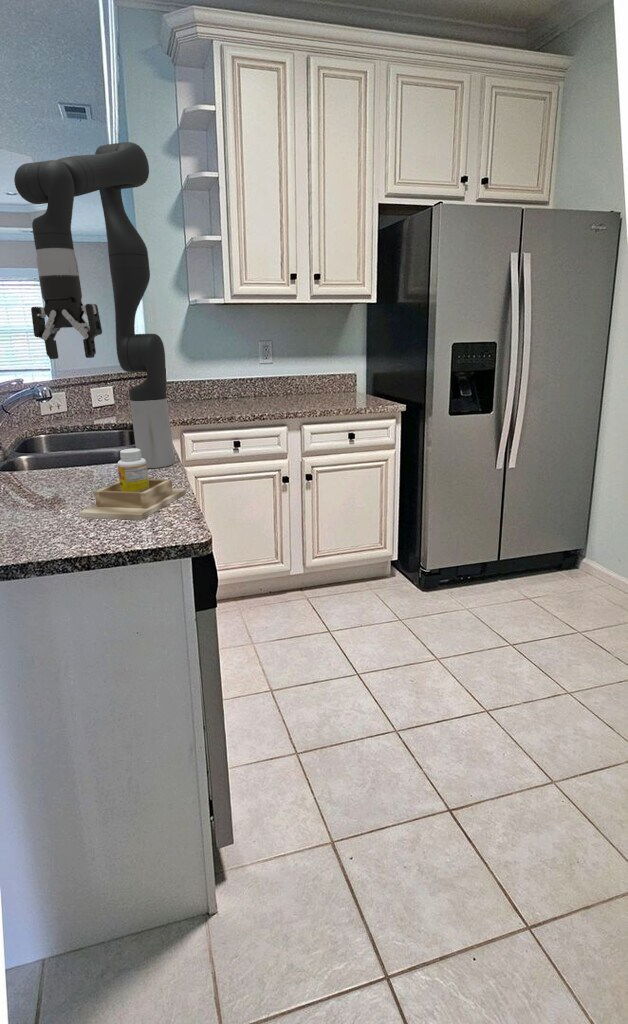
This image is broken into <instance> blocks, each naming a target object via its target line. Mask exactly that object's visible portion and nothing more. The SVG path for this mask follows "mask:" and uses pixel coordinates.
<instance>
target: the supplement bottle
mask: <svg viewBox="0 0 628 1024" xmlns="http://www.w3.org/2000/svg"><path fill="white" fill-rule="evenodd" d="M119 456H120V460H118V462H117V470H118V478H119V481H120V486H121V491H125V492H144V491H146V490H148V489H149V481H148V479H149V474H148V468H147V465H146V460H145V459H144V458H141V457H142V456H141V450H140V449H136V448H125V449H122V450H120V451H119Z"/></svg>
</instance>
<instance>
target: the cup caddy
mask: <svg viewBox="0 0 628 1024" xmlns="http://www.w3.org/2000/svg"><path fill="white" fill-rule="evenodd" d="M148 481H149V489H148V490H146V491H144V492H125V491H121V486H120V480H118V481H116V482H113V483H111V484H108V485H107V486H104V487H102V488H100V489H98V490H97V489H96V490H95V491H94V492H93V493H94V499H95V500H94V501H95V504H94V505H92V506H90V507H88V508H86V509H84V510H82V511H79V515H80V516H79V517H80V518H91V519H92V518H93V519H112V520H131V521H133V520H134V521H136V520H137V521H142V520H144V519H146V518H147V517H149V516H151V515H152V514H154V513H156V512H157V511H159V510H161V509H162V508H164V507H166V506H167V505H170V504H171V503H173V502H174V501H176V500H178V499H179V498H181V497H182V496H184V495H186V494H187V489H186V488H173V483H172V479H154V478H153V479H152V478H151V479H150V478H148Z"/></svg>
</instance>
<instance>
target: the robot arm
mask: <svg viewBox="0 0 628 1024" xmlns="http://www.w3.org/2000/svg"><path fill="white" fill-rule="evenodd" d="M149 176H150V166H149V160H148V157H147V154H146V152H145V151H144V150H143V148H142V147H141V146H140V145H139V144H137V143H136V142H131V141H122V142H117V143H109V144H103V145H99V146H98V147H97V148H96V150H95V152H94V154H80V155H73V156H66V157H61V158H58V159H54V160H53V159H52V160H42V161H35V162H27V163H23V164H21V165H20V166H19V167H17V169H16V171H15V174H14V186H15V188H16V191H17V192H18V194H19V195H20V197H21V198H22V199H24V200H25V201H26V202H28V203H30V204H32V205H33V204H34V205H45V204H46V205H47V207H46V211H45V213H43V214H42V215H40V216H37V217H36V218H34V219H33V220H32V223H31V225H32V234H33V242H34V246H35V253H36V259H35V260H36V268H37V273H38V280H39V286H40V292H41V296H42V299H43V301H44V307H43V306H32V307H31V308H30V310H31V319H32V321H31V322H32V328H33V329H32V330H33V335H34V337H35V338H40V339H42V340H43V341H44V345H45V350H46V351H45V352H46V355H47V357H48V358H49V359H50V360H56V359H59V351H58V345H57V339H55V338H56V335H57V334H58V332H60V330H61V329H67V328H74V329H75V330H76V331H77V332H78V333H80V334H79V335H81V336H82V337H83V339H82V342H83V349H84V354H85V355H84V357H85V358H87V359H90V358H91V359H92V358H95V355H96V354H97V349H96V342H95V338H96V337H97V336H100V335H102V334H103V328H102V322H101V319H100V318H101V317H100V314H99V313H100V312H99V308H98V305H97V304H96V303H86V304H85V305H84V304H83V301H82V299H83V293H82V288H81V280H80V274H79V273H80V272H79V267H78V261H77V257H76V254H75V249H74V243H73V242H74V241H73V236H72V235H73V234H72V233H73V232H72V227H71V226H72V220H73V219H72V218H73V209H74V200H75V197H80V196H83V195H87V194H90V193H94V192H97V191H99V195H100V201H101V205H102V206H101V207H102V212H103V217H104V224H105V231H106V240H107V241H106V242H107V253H108V255H107V256H108V260H109V261H108V263H109V270H110V278H111V284H112V285H111V286H112V292H113V302H114V313H115V314H114V316H115V320H114V321H115V342H116V343H115V344H116V347H115V348H116V355H117V360H118V363H119V366H120V368H121V369H122V370H123V371H124V372H126V373H145V372H146V378H145V380H144V381H143V382H141V383H140V384H138V385H136V386H134V387H131V388H130V389H129V391H128V396H129V403H130V412H131V417H132V428H133V429H132V430H133V435H134V437H133V438H134V444H135V449H140V450H141V456H142V457H141V458H144V459H145V460H146V465H147V469H158V468H165V467H169V466H173V465H174V463H175V454H174V446H173V445H174V443H173V436H172V435H173V434H172V427H171V423H170V413H169V407H168V396H167V395H168V394H167V391H168V390H167V388H168V382H167V366H166V365H167V364H166V351H165V345H164V342H163V340H162V337H160V336H159V335H158V334H157V333H137V334H136V330H135V329H136V325H135V324H136V314H137V310H138V308H139V305H140V304H141V301H142V299H143V298H144V295H145V293H146V291H147V289H148V286H149V283H150V278H151V270H150V262H149V260H150V259H149V254H148V253H149V251H148V248H147V245H146V243H145V241H144V240H143V238H142V237H141V235H140V233H139V232H138V230H137V229H136V227H135V226H134V225H133V223H132V222H131V220H130V218H129V216H128V214H127V213H126V210H125V205H124V202H123V197H122V190H123V189H133V188H134V189H135V188H138V187H142V186H143V185H144V184H146V183H147V181H148V179H149ZM84 314H85V316H87V321H88V322H87V321H86V319H85V318H84V317H83V316H84ZM45 317H48V319H47V321H46V318H45Z"/></svg>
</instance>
